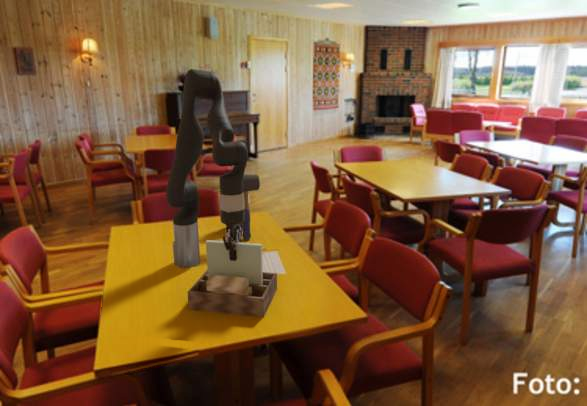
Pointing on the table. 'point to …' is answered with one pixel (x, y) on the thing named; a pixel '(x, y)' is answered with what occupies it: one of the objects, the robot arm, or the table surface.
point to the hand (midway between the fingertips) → (234, 258)
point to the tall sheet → (242, 267)
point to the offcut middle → (247, 293)
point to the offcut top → (227, 284)
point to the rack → (234, 298)
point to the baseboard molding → (272, 262)
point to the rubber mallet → (248, 185)
